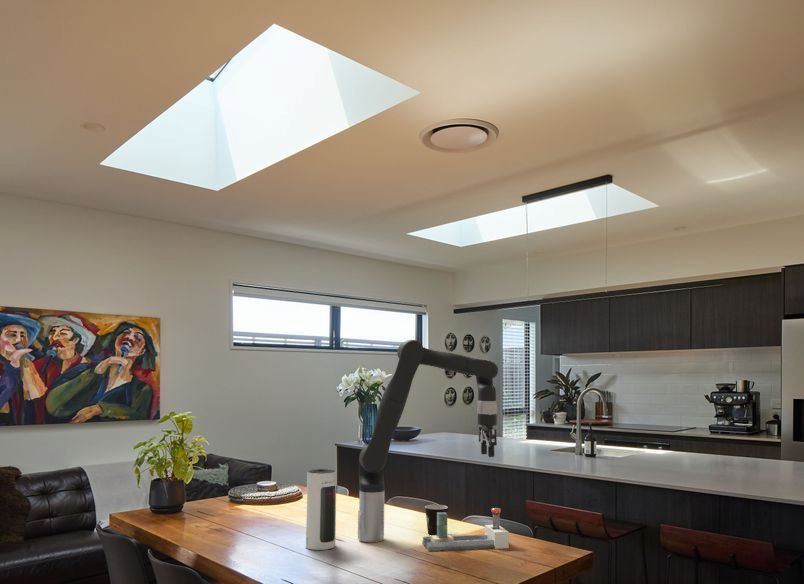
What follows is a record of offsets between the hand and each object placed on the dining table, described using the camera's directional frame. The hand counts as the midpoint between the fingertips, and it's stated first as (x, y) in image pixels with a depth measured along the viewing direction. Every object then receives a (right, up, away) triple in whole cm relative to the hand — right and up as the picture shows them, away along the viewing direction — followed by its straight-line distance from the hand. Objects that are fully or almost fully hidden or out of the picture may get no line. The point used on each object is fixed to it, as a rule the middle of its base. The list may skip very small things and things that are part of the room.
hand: (487, 455), depth 238 cm
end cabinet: (+1, -27, -18) cm, 32 cm away
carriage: (-19, -25, -22) cm, 38 cm away
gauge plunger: (+1, -24, -18) cm, 30 cm away
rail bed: (-12, -26, -21) cm, 35 cm away
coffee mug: (-20, -29, -3) cm, 35 cm away
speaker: (-62, -26, -23) cm, 71 cm away
